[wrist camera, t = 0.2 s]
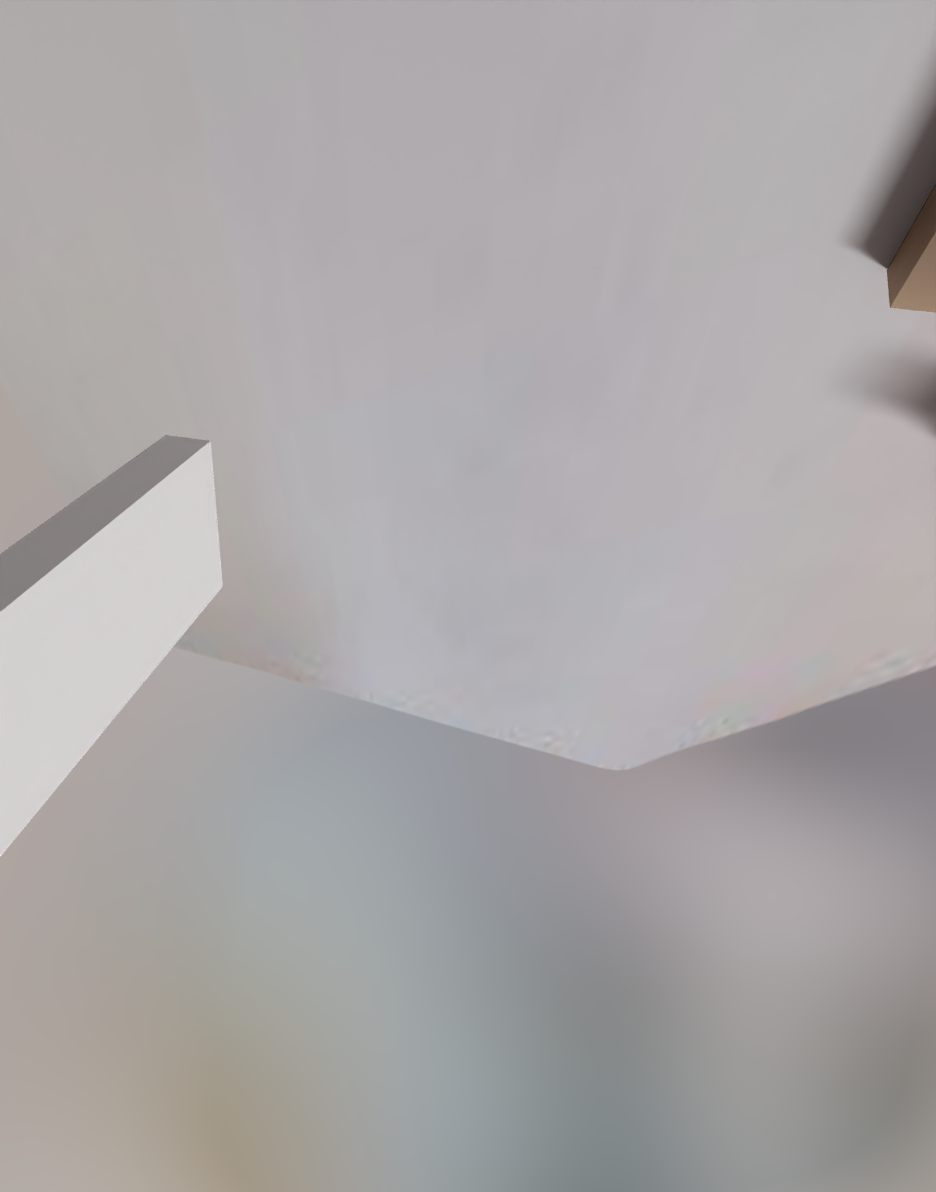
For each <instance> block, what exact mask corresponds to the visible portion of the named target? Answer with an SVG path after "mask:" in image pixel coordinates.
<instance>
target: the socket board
mask: <svg viewBox="0 0 936 1192" xmlns="http://www.w3.org/2000/svg"><path fill="white" fill-rule="evenodd" d="M887 277H888V289H889V302H890V308H899V309H909V310H918V311H927V312H936V185H935V187H934V189H933V191H932V192H931V194H930V196H929V198H928V199H927V201H926V203H925V205H924V206H923V208H922V210H921V212H920V213H919V215H918V217H917V219H916V220H915V222H914V224H913V226H912V227H911V229H910V231H909V233H908V234H907V236H906V238H905V240H904V241H903V243H902V245H901V247H900V248H899V250H898V252H897V254H896V255H895V257H894V259H893V261H892V262H891V264H890V266H889V268H888V269H887Z"/></svg>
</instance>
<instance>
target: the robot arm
mask: <svg viewBox="0 0 936 1192" xmlns="http://www.w3.org/2000/svg"><path fill="white" fill-rule="evenodd" d="M222 587H223V583H222V571H221V560H220V548H219V536H218V524H217V512H216V501H215V489H214V477H213V465H212V453H211V441H207V440H199V439H192V438H184V437H177V436H169V435H165V436H164V437H162V438H161V439H160V440H158V441H157V442H155V443H154V444H153V445H151V446H150V447H148V448H147V449H146V450H144V451H143V452H142V453H140V454H139V455H137V456H136V457H135V458H133V459H132V460H130V461H129V462H128V463H126V464H125V465H123V466H122V467H121V468H119V469H118V470H116V471H115V472H114V473H112V474H111V475H110V476H108V477H107V478H105V479H104V480H103V481H101V482H100V483H98V484H97V485H96V486H94V487H93V488H91V489H90V490H89V491H87V492H86V493H84V494H83V495H82V496H80V497H79V498H78V499H76V500H75V501H73V502H72V503H71V504H69V505H68V506H66V507H65V508H64V509H62V510H61V511H59V512H58V513H57V514H55V515H54V516H53V517H51V518H50V519H48V520H47V521H46V522H45V523H43V524H41V525H40V526H39V527H37V528H36V529H34V530H33V531H32V532H30V533H29V534H28V535H26V536H25V537H23V538H22V539H21V540H19V541H18V542H16V543H15V544H14V545H12V546H11V547H9V548H8V549H7V550H5V551H4V552H2V553H1V554H0V856H1V855H2V854H3V853H4V852H5V850H6V849H7V848H8V847H9V846H10V844H11V843H12V842H13V841H14V839H15V838H16V837H17V836H18V835H19V833H20V832H21V831H22V830H23V828H24V827H25V826H26V825H27V824H28V822H29V821H30V820H31V819H32V817H33V816H34V815H35V814H36V813H37V811H38V810H39V809H40V808H41V807H42V805H43V804H44V803H45V802H46V801H47V799H48V798H49V797H50V796H51V794H52V793H53V792H54V791H55V790H56V788H57V787H58V786H59V785H60V784H61V782H62V781H63V780H64V779H65V777H66V776H67V775H68V774H69V773H70V771H71V770H72V769H73V767H74V766H75V765H76V764H77V763H78V762H79V760H80V759H81V758H82V757H83V756H84V754H85V753H86V752H87V751H88V749H89V748H90V747H91V746H92V744H93V743H94V742H95V741H96V740H97V738H98V737H99V736H100V735H101V734H102V732H103V731H104V730H105V729H106V728H107V726H108V725H109V724H110V723H111V721H112V720H113V719H114V718H115V717H116V715H117V714H118V713H119V712H120V711H121V709H122V708H123V707H124V706H125V704H126V703H127V702H128V701H129V700H130V698H131V697H132V696H133V695H134V693H135V692H136V691H137V690H138V689H139V687H140V686H141V685H142V684H143V683H144V681H145V680H146V679H147V678H148V677H149V675H150V674H151V673H152V672H153V670H154V669H155V668H156V667H157V666H158V664H159V663H160V662H161V661H162V659H163V658H164V657H165V656H166V655H167V653H168V652H169V651H170V650H171V649H172V647H173V646H174V645H175V644H176V643H177V641H178V640H179V639H180V638H181V636H182V635H183V634H184V633H185V632H186V630H187V629H188V628H189V627H190V625H191V624H192V623H193V622H194V621H195V619H196V618H197V617H198V616H199V615H200V613H201V612H202V611H203V610H204V608H205V607H206V606H207V605H208V604H209V602H210V601H211V600H212V599H213V598H214V596H215V595H216V594H217V593H218V591H219V590H220V589H221V588H222Z"/></svg>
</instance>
